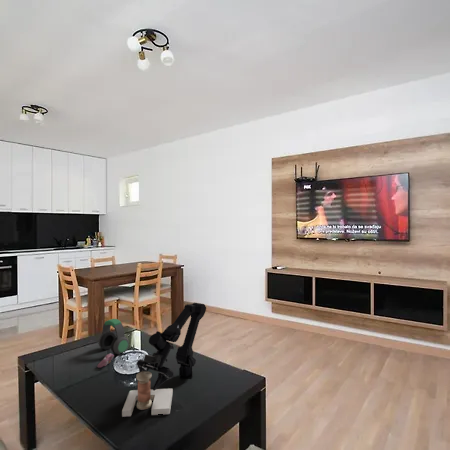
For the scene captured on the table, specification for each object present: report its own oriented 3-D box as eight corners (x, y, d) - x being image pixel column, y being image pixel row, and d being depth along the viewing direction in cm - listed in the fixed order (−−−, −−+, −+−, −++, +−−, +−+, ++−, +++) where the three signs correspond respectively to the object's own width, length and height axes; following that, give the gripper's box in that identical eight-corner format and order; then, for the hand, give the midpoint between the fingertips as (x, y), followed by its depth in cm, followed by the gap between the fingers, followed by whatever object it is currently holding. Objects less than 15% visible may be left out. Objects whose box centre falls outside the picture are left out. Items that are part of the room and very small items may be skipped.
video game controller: (102, 371, 179) (107, 360, 179) (96, 367, 180) (100, 356, 179) (111, 363, 189) (116, 353, 188) (105, 359, 190) (110, 349, 189)
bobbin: (147, 399, 149) (147, 369, 149) (154, 405, 144) (154, 375, 144) (134, 404, 145) (134, 374, 145) (140, 411, 140) (140, 379, 139)
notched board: (172, 393, 154) (172, 388, 154) (169, 414, 138) (169, 408, 138) (130, 395, 152) (130, 390, 152) (122, 416, 136) (122, 410, 136)
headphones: (96, 350, 203) (96, 319, 203) (111, 344, 212) (111, 315, 212) (115, 358, 192) (115, 325, 192) (130, 351, 201) (130, 320, 201)
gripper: (138, 342, 154) (121, 375, 144) (169, 350, 144) (152, 386, 135) (150, 352, 161) (134, 384, 151) (180, 361, 151) (165, 395, 142)
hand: (145, 387), depth 145 cm, fingers open, 9 cm apart
